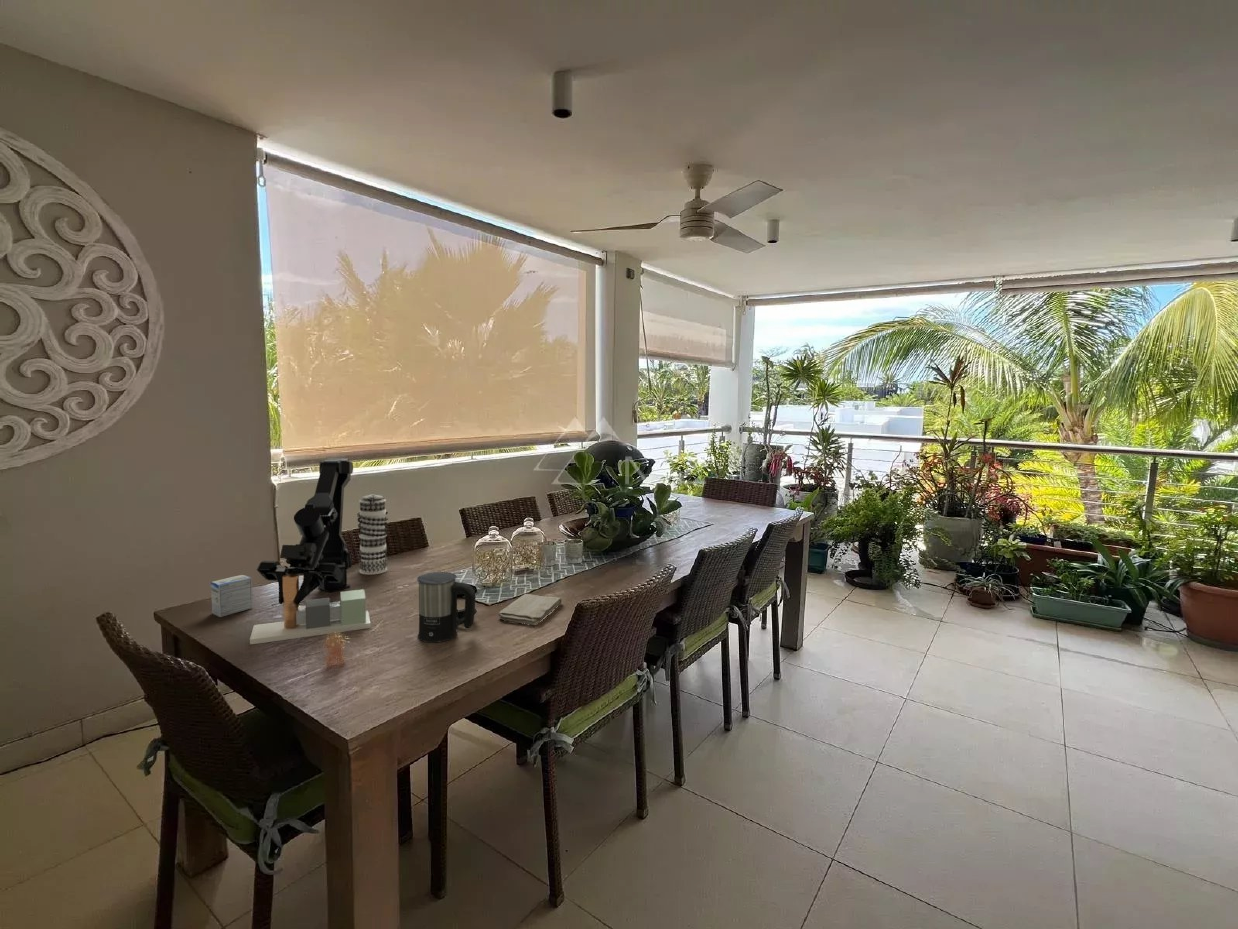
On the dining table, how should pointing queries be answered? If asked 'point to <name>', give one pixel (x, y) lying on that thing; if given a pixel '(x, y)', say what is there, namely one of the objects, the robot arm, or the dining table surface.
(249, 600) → the medicine box
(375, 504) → the decorative candle
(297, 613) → the tube
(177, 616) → the dining table surface
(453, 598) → the milk frother
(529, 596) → the washcloth
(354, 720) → the dining table surface
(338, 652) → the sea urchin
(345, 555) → the robot arm
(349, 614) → the socket block
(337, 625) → the tube stand
